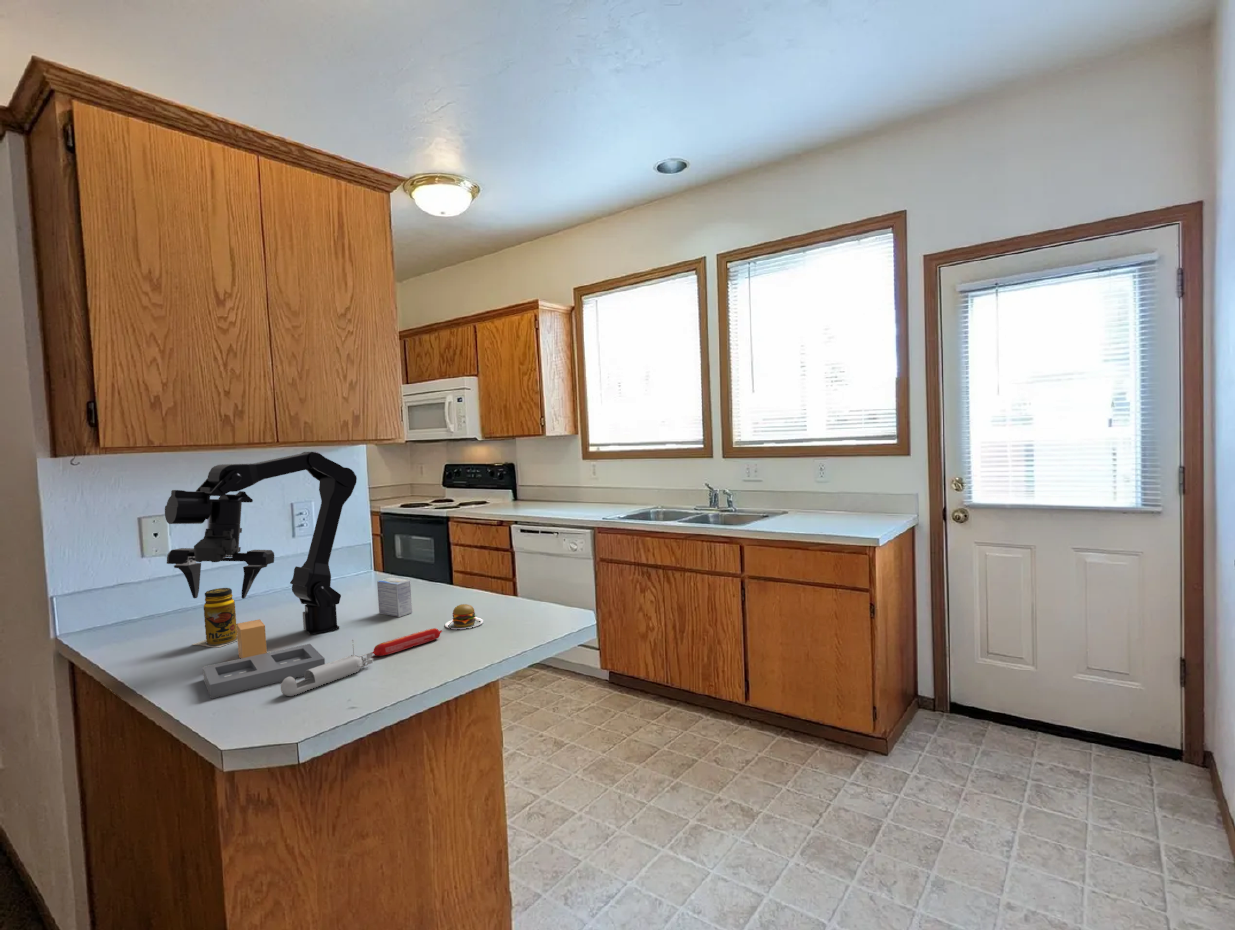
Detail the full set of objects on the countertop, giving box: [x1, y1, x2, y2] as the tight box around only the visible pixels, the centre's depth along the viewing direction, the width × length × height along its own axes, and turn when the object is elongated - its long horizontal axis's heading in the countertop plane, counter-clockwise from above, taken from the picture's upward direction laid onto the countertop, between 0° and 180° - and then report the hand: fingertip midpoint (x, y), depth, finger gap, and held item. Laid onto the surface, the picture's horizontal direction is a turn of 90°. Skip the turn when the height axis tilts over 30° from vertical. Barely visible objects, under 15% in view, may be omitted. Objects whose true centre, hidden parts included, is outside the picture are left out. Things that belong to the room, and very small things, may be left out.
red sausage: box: [372, 627, 443, 657], centre depth 138 cm, size 16×4×3 cm, turn 140°
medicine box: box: [377, 577, 413, 618], centre depth 164 cm, size 8×4×9 cm, turn 57°
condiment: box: [191, 587, 238, 648], centre depth 146 cm, size 7×8×12 cm
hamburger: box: [444, 603, 484, 630], centre depth 153 cm, size 12×12×6 cm
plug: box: [236, 619, 268, 659], centre depth 136 cm, size 4×9×7 cm, turn 38°
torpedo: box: [280, 639, 374, 697], centre depth 120 cm, size 18×5×7 cm, turn 146°
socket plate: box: [202, 643, 326, 699], centre depth 124 cm, size 19×12×2 cm, turn 128°
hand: (219, 598), depth 134 cm, fingers open, 9 cm apart
